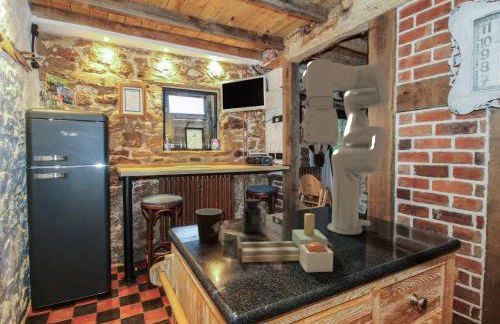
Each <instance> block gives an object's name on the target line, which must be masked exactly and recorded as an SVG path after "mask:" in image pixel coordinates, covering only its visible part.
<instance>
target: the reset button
mask: <svg viewBox="0 0 500 324" xmlns="http://www.w3.org/2000/svg"><path fill="white" fill-rule="evenodd" d="M308 251H309V252H324V244H322V243H319V242H310V243H308Z"/></svg>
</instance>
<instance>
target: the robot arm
mask: <svg viewBox="0 0 500 324" xmlns="http://www.w3.org/2000/svg"><path fill="white" fill-rule="evenodd" d="M301 82H302V86H303V88H304V89H305V90H306V98H305V100H302V101H301V105H302V106H304V107H305V108H306V109H304V110H303V115H302V121H301V129H300V130H301V131H300V132H301V133H300V135H301V138H300V139H301V145H300V146H301V148H305V149H309V150H310V152H311V153H312V156H313V157H312V158H313V159H312V160H313V161H312V163H313V165H314V168H315V167H316V168H324V165H325V164H326V163H325V162H326V154H327V153H328V151H329V149H333V148H335V147H337V146H338V142H339V138H340V134H339V120H338V113H337V109H336V108H334V92H340V91H341V92H342V91H345V92H344V95H343V106H344V112H345V114H346V118H347V119H346V120H347V121H346V123H345V128H344V130H343V133H342V137H341V146H342V147H340V148H336V149H335V150H334V151H333V152H332V154H331V159H330V160H331V166H332V177H333V178H332V180H333V182H332V183H333V184H332V206H331V207H332V210H331V212H332V213H331V222H330V223H328V224H327V229H328V231H331V232H333V233H336V234H341V235H348V236H350V235H351V236H352V235H359V234H361V233H362V232H363V228H362V227H363V226H365V227H366V226H367V227H368V226H371V224H372V223H371V220H364V219H360V218H359V213H360V212H359V211H360V210H359V208H360V183H359V180H358V179H357V178H356V176H355V174H358V175H359V174H360V175H377V174H378V173H379V172H380V170H381V168H382V164H383V159H384V154H385V149H386V144H387V134H386V130H385V129H384V128H383V127H382V126H377V125H370V119H369V116H367V114H366V113H365V112H363V111H362V110H361V109H372V108H382V107H385V106H386V105H388V102H389V101H390V100H389V99H390V93H389V87H388V83H387V78H386V75H385V71H384V68H383V67H382V66H381V65H380V64H378V63H371V64H363V65H357V66H355V65H349V64H343V63H339V62H333V61H332V60H330V59H325V58H322V59H320V58H319V59H314V60H312V61H311V60H310V62H308V64H307V65H306V70H305V71H304V72H303V74H302V78H301ZM319 144H320V145H319Z"/></svg>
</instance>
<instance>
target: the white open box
mask: <svg viewBox="0 0 500 324" xmlns="http://www.w3.org/2000/svg"><path fill="white" fill-rule="evenodd" d="M299 264H300V265H301V267H302V268H303V270H304V272H305V273H318V272H319V273H320V272H321V273H323V272H333V271H334V270H333V269H334V251H333V252H332V251H331V250H330V249H329V248H328V247H327V246H326V245H325V244H324V252H309V251H308V244H304V245H300V261H299Z"/></svg>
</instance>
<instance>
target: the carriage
mask: <svg viewBox="0 0 500 324" xmlns="http://www.w3.org/2000/svg"><path fill="white" fill-rule="evenodd" d="M315 217H316V214H314V213H307V212H306V213H304V222H303V223H304V224H303V229H292V230H291V231H292V233H291V241H294V242H295V244H296V245H297V247H298V248H299V249H300V245H304V244H308V243H310V242H319V243H322V244H325V245H326V246H327V247H328V241H329V239H328V238H327V237H326V236H325V235H324V234H323V233H321V231H320V230H318V229H317V228H316V229H315V226H316V225H315V223H316V222H315V221H316V218H315Z"/></svg>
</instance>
